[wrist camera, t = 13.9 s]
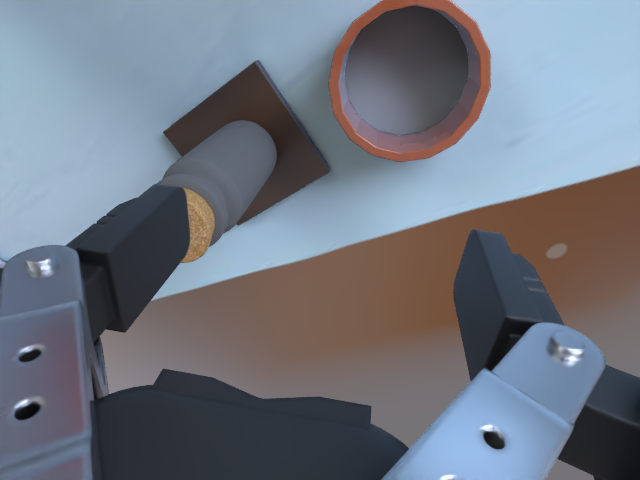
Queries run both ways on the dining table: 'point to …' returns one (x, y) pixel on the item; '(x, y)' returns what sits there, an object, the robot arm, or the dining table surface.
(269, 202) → the walnut board
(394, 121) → the dining table surface
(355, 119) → the terracotta pot
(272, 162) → the bottle
